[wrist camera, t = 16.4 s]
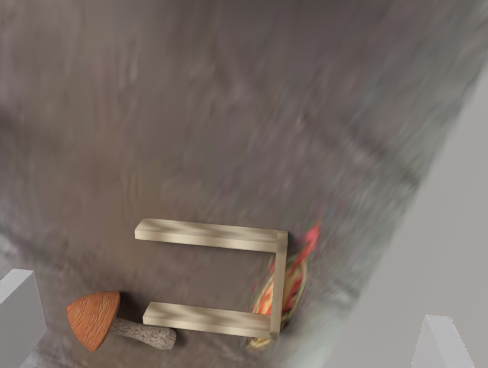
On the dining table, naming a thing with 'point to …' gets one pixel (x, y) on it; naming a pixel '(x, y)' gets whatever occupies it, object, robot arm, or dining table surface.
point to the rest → (230, 239)
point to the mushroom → (112, 323)
